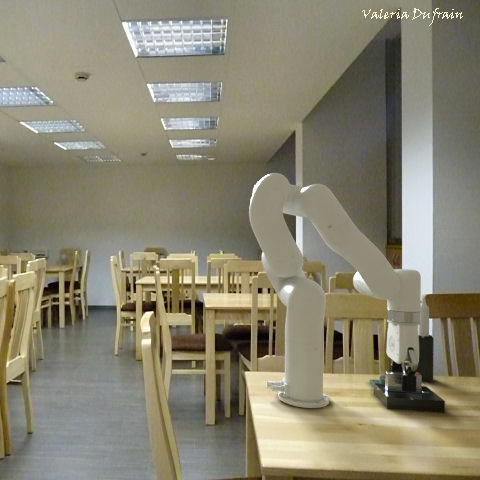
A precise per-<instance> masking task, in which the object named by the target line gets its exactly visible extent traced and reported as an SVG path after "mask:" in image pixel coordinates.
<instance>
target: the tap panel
mask: <svg viewBox="0 0 480 480" xmlns="http://www.w3.org/2000/svg"><path fill="white" fill-rule="evenodd" d="M373 395H374V396H375V397H376V398H377V399H378V401H379V402H380V403H381V404H382V405H383V407H385V408H386V410H394V411H395V410H396V411H409V412H411V411H412V412H423V413H439V414H445V413H446V407H445V406H446V400H444V399H443V398H442V397H440V395H438V394H437V393H435V392H434V391H433V390H432V389H430V388H429V387H428V386H426V385H422V393H409V392H394V391H387V390H386V389H385V384H380V383H374V387H373Z"/></svg>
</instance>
